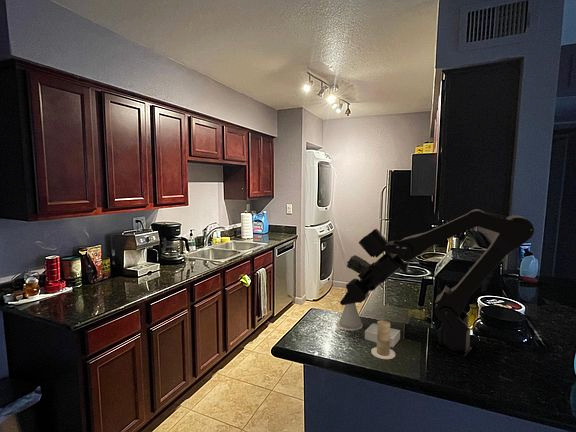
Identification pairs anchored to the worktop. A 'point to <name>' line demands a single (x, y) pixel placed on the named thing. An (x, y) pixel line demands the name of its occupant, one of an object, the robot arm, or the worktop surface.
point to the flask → (350, 317)
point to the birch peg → (383, 338)
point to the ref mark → (390, 356)
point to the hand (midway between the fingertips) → (346, 299)
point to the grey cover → (372, 334)
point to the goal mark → (347, 328)
